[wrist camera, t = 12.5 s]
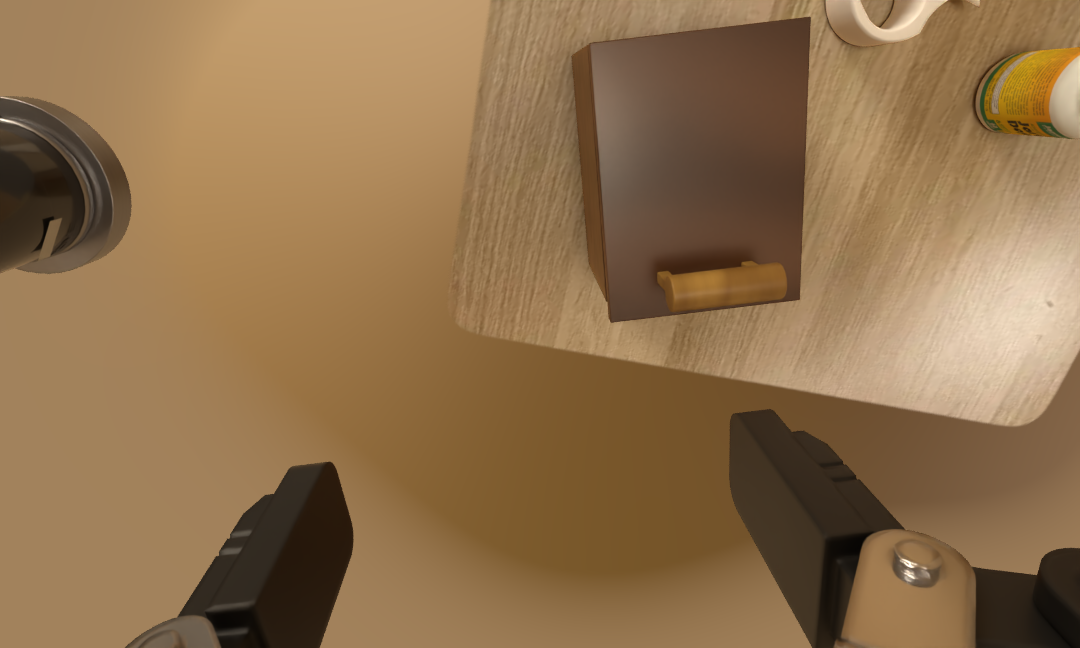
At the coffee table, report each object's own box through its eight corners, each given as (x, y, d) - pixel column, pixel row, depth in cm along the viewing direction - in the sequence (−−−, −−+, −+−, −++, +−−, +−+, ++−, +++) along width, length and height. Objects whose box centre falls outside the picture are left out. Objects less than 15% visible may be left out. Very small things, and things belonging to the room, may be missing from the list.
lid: (794, 296, 36) (838, 324, 31) (608, 318, 36) (623, 350, 31) (804, 18, 31) (858, 0, 26) (587, 44, 31) (601, 30, 26)
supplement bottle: (1059, 55, 41) (1214, 43, 32) (1030, 135, 43) (1168, 146, 34) (986, 49, 40) (1122, 35, 31) (960, 130, 42) (1081, 139, 33)
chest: (739, 246, 45) (790, 279, 36) (588, 264, 45) (606, 301, 36) (742, 34, 39) (803, 18, 31) (571, 55, 39) (587, 44, 31)
